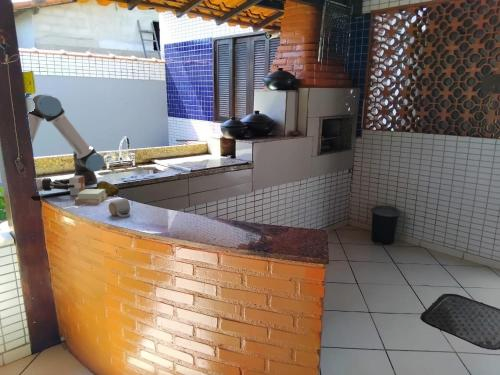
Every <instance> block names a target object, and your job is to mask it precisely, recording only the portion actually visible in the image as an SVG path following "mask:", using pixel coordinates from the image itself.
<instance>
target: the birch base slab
mask: <svg viewBox="0 0 500 375" xmlns="http://www.w3.org/2000/svg"><path fill="white" fill-rule="evenodd" d="M107 199H108V195H107V194H105V195H104V196H102V197H101V198H99V199H78V197H76V198H74V204H75V205H76V204H82V205H83V204H84V205H85V204H88V205H91V204H94V205H98V204H99V205H100V204H101V203H102V202H104V201H105V200H107Z"/></svg>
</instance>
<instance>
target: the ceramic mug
mask: <svg viewBox="0 0 500 375" xmlns="http://www.w3.org/2000/svg"><path fill="white" fill-rule="evenodd" d="M108 210H109V213H110V214H111V216H115V217H116V216H119V217H120V218H127V217H129V216H130V214H131V204H130V202H129V201H128V199H127V198H125V197H122V198H120V199H117V200H112V201H110V202H109V203H108Z"/></svg>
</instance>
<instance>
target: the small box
mask: <svg viewBox="0 0 500 375" xmlns="http://www.w3.org/2000/svg"><path fill="white" fill-rule="evenodd" d="M68 179H69V183H70V184H74V183H81V188H69V191H70V196H78V193H80V192H81V191H83V190H85V189H86V185H85V180H84V176H71V177H69V178H68Z"/></svg>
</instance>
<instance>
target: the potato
mask: <svg viewBox="0 0 500 375" xmlns="http://www.w3.org/2000/svg"><path fill="white" fill-rule="evenodd" d="M96 189H105V193H106V194H107V196H114V195H115V196H116V195H118V194H119V188H118V187H117V186H116V185H114V184H112V183H110V182H108V181H105V180H101V181H99V182H97V183H96Z"/></svg>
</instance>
